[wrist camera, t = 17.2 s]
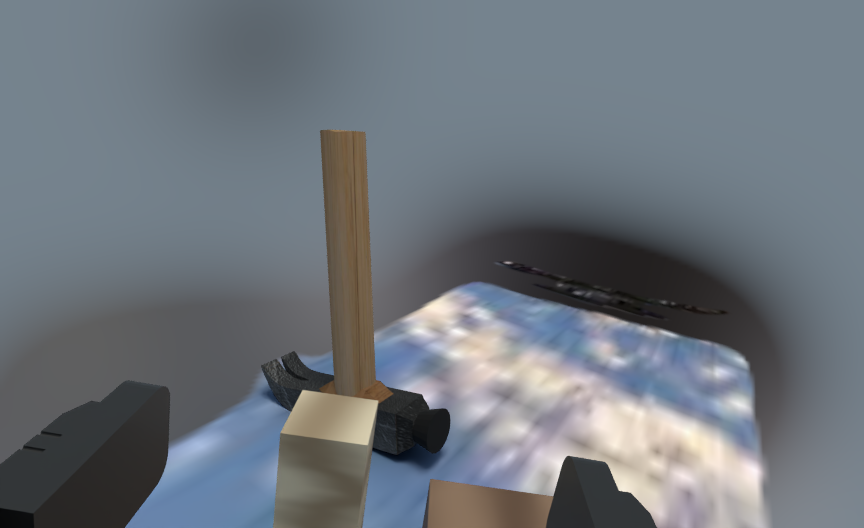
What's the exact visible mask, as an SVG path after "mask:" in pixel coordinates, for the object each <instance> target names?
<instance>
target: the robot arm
mask: <svg viewBox="0 0 864 528" xmlns="http://www.w3.org/2000/svg"><path fill="white" fill-rule="evenodd" d="M169 410H170V393H169V390H168V388H167V387H164V386H158V385H153V384H146V383H141V382H134V381H125V382H123V383H122V384H121V385H119V386H118V387H117V388H116V389H115V390H114V391H113V392H112V393H110V394H109V395H108V396H107V397H106V398H104V399H103V400H102V401H101V402H94V401H90V402H88V403H86V404H84V405H81V406H79V407H77V408H75V409H72V410H70V411H68V412H66V413H64V414H62V415H61V416H59V417H58V418H57V419H56V420H54V421H53V422H52V423H51V424H50V425H48V426H47V427H46V428H45V429H43V430H42V431H41V434H40V435H36V436H35V437H34V438H32V439H31V440H30V441H29V442H27V443H26V444H25V445H24V447H23V449H22V450H20V449H19V450H18V451H16V452H15V453H14V454H13V455H11V456H10V457H9V458H8V459H6V460H5V461H4V462H3V463H1V464H0V528H125V527H126V525H127V524H128V523H129V521H130V520H131V519H132V517H133V516H134V515H135V513H136V512H137V511H138V509H139V508H140V507H141V506H142V504H143V503H144V502H145V500H146V499H147V498H148V496H149V495H150V494H151V492H152V491H153V490H154V488H155V487H156V486H157V484H158V482H159V481H160V479H161V477H162V474H163V472H164V469H165V466H166V462H167V457H168V441H169V413H170V411H169ZM546 528H657V527H656V525H655V523H654V521H653V518H652V516H651V514H650V513H649V512H648V511H647V510H646V509H645V508H644V507H643V505H642V504H641V503H640V502H639V501H638V500H637V499H636V498H635V497H634V496H633V495H632V494H631V493H628V492H622V491H619V490H618V488H617V486H616V483H615V481H614V479H613V476H612V474H611V471H610V469H609V467H608V465H607V464H606V463H605V462H602V461H596V460H590V459H584V458H578V457H572V456H567V457H566V458H565V460H564V462H563V465H562V468H561V471H560V475H559V479H558V482H557V486H556V489H555V493H554V496H553V500H552V504H551V507H550V511H549V514H548V518H547V523H546Z"/></svg>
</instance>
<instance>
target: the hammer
mask: <svg viewBox="0 0 864 528" xmlns="http://www.w3.org/2000/svg"><path fill="white" fill-rule="evenodd" d="M320 133H321V153H322V170H323V188H324V204H325V205H324V206H325V224H326V241H327V259H328V275H329V295H330V312H331V330H332V348H333V365H334V376H333V375H329V374H324V373H320V372H316V371H313V370H311V369H309V368H308V367H306V366H305V365H304V364H303V363H302V362H301V360H300V359H299V357H298V356H297V354H296V353H295V352H291V353H289V354H287V355H284V356H282V357H281V359H282V362H283V365H284V367H285V370H286V371H285V370H284V368H283V367H282V366H281V364H280V362H279V361H278V360H277V359H275V360H273V361H271V362H268V363H266V364H264V365H262V366H261V367H262V370H263V373H264V375H265V377H266V379H267V381H268V383H269V386H270V388H271V390H272V392H273V393H274V395H275V397H276V398H277V400H278V401H279V402H280V403H281V404H282V405H283V406H284V407H285V408H286V409H287V410H289V411H291V412H292V410H293V408H294V406H295V404H296V402H297V400H298V398H299V396H300V394H301V392H302V390H306V391H313V392H321V393H328V394H335V395H342V396H349V397H356V398H363V399H370V400H377V401H378V408H377V416H376V424H375V431H374V439H373V448H376V449H379V450H382V451H385V452H389V453H392V454H395V455H398V454H400V453H401V452H403V451H406V450H408V449H410V448H412V447H414V446H415V445H416V444H419V445H420V446H422V447H423V448H425V449H426V450H428V451H429V452H431V453H432V454H433V453H437V452H438V451H439V450H440V449H441V448H442V447H443V445H444V443H445V442H446V439H447V436H448V434H449V429H450V414H449V412H448V410H446V409H431V410H429V407H428V405H427V403H426V401H425V400H424V398H423V396H422V394H417V393H412V392H408V391H403V390H399V389H394V388H389V387H386V386H385V385H384V384H383V383H382V382H381V381H377V380H376V376H375V352H374V329H373V306H372V305H373V304H372V281H371V256H370V232H369V208H368V184H367V160H366V138H365V137H366V136H365V132H358V131H342V130H321V131H320Z"/></svg>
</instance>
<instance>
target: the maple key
mask: <svg viewBox="0 0 864 528" xmlns="http://www.w3.org/2000/svg"><path fill="white" fill-rule="evenodd" d="M377 408H378V401H377V400H370V399H363V398H356V397H349V396H342V395H335V394H328V393H321V392H313V391H306V390H302V392H301V394H300V396H299V398H298V400H297V402H296V404H295V406H294V408H293V410H292V412H291V414H290V415H289V417H288V419H287V421H286V423H285V425H284V427H283V429H282V431H281V433H280V445H279V458H278V472H277V485H276V498H275V511H274V524H273V528H362V525H363V517H364V509H365V501H366V494H367V486H368V478H369V470H370V463H371V455H372V447H373V439H374V431H375V424H376V416H377Z"/></svg>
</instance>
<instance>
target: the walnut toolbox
mask: <svg viewBox="0 0 864 528" xmlns="http://www.w3.org/2000/svg"><path fill="white" fill-rule="evenodd" d="M552 500H553V496H546V495H539V494H532V493H525V492H518V491H511V490H504V489H497V488H490V487H483V486H476V485H469V484H462V483H455V482H448V481H441V480H434V479H430V484H429V490H428V497H427V503H426V509H425V515H424V521H423V527H422V528H546V523H547V518H548V514H549V511H550V507H551V504H552Z"/></svg>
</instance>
